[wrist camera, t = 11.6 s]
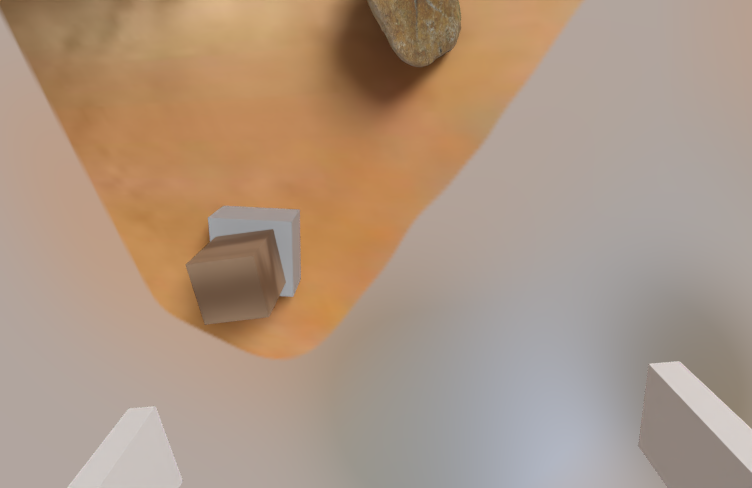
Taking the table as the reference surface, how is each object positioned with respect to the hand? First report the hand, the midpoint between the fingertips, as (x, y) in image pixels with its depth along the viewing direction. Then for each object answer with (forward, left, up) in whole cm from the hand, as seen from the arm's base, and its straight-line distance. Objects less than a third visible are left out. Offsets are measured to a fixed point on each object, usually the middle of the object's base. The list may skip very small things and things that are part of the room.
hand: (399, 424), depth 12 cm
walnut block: (+4, -12, -25) cm, 28 cm away
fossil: (-14, +3, -29) cm, 33 cm away
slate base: (+4, -12, -29) cm, 32 cm away
